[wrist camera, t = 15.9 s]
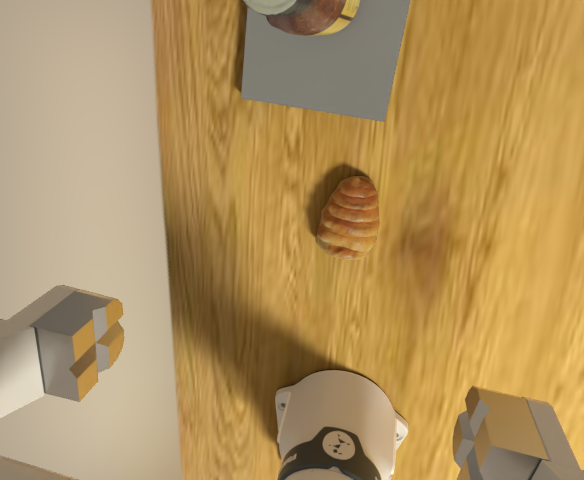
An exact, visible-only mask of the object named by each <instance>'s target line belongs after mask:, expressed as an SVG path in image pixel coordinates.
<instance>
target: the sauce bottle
mask: <svg viewBox="0 0 584 480" xmlns="http://www.w3.org/2000/svg"><path fill="white" fill-rule="evenodd" d="M243 1H244V2H245V4H246V5H247V6H248V7H249V8H250V9H252V10H253V11H255V12H257V13H259V14H262V15H265V16H266V18H267V21H268V22H269V24H270V25H271V26H273V27H275V28H277V29H280V30H282V31H284V32H286V33H289V34H294V35H301V36H312V35H328V34H333V33H336V32H338V31H340V30H342V29H343V28H345V27H346V26H347V25H348V24H349V23H350V21H352V20H353V18H354V17H355V15H356V13H357V10H358V7H359V3H360V0H243Z"/></svg>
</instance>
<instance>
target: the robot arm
mask: <svg viewBox="0 0 584 480" xmlns="http://www.w3.org/2000/svg"><path fill="white" fill-rule="evenodd" d="M122 315H123V309H122V303H121V302H120V301H119V300H118V299H115V298H111V297H107V296H103V295H100V294H96V293H92V292H89V291H85V290H79V289H76V288H73V287H69V286H65V285H60V286H56V287H54V288H53V289H51V290H50V291H48V292H47V293H46V294H44V295H43V296H41V297H40V298H39V299H37V300H36V301H34V302H33V303H31V304H30V305H28V306H27V307H26V308H24V309H23V310H21V311H20V312H18V313H17V314H16V315H14V316H13V317H11V318H10V319H8V320H3V319H0V418H1V417H3V416H5V415H7V414H9V413H11V412H13V411H15V410H17V409H19V408H21V407H23V406H24V405H26V404H28V403H30V402H32V401H34V400H36V399H38V398H40V397H42V396H44V393H46V394H50V395H54V396H58V397H62V398H66V399H70V400H74V401H78V402H80V401H81V400H82V398H84V396H85V395H86V394H87V393H88V392H89V391H90V390H91V389H92V387H93V386H94V385H95V384H96V383H97V382H98V373H99V372H101V371H104V370H106V369H109V368H110V367H111V366H112V365H113V364H114V362H115V361H116V360H117V358H118V356H119V354H120V352H121V350H122V347H123V342H124V330H123V328H122V327H121V325H120V324H119V322H118V320H119V319H120V318H121V316H122ZM465 402H466V407H467V411H465V412H463V413H461V414H459V416H458V419H457V421H456V424H455V428H454V434H453V456H454V461H455V462H456V463H457V464H458V466H459V467H460V468H461V471H460V473H459V475H458V478H457V480H584V470H581V469H580V467H579V465H578V462H577V460H576V458H575V456H574V454H573V451H572V449H571V447H570V445H569V443H568V440H567V438H566V436H565V434H564V431H563V429H562V427H561V425H560V423H559V420H558V418H557V416H556V414H555V411H554V409H553V407H552V406H551V405H550V404H549V403H548V402H544V401H539V400H535V399H530V398H525V397H518V396H514V395H509V394H505V393H501V392H497V391H493V390H488V389H484V388H480V387H476V386H472V387H471V389H470V390H469V391H468V394H467V396H466V398H465ZM283 403H284V404H283ZM275 404H276V414H277V424H278V437H277V442H278V443H279V450H280V456H281V462H282V466H281V468H280V471H279V474H278V480H391V477H392V474H393V473H394V469H395V454H396V450H397V449H398V447H399V446H400V444H401V443H402V441H403V440H404V438H405V437H406V435H407V433H408V427H409V426H408V423H407V422H406V421H405V420H404V419H403V418H402V417H401V416H400V415H399V414H398V413H396V412H395V410H394V409H393V407H392V405H391V403H390V401H389V399H388V397H387V396H386V395H385V393H384V392H383V391H382V390H381V389H380V388H379V387H378V386H377V385H376V384H374V383H373V382H371V381H370V380H368V379H366V378H364V377H362V376H360V375H357V374H354V373H351V372H347V371H340V370H326V371H320V372H316V373H313V374H311V375H309V376H307V377H305V378H304V379H302V380H301V381H300V382H298V383H297V384H295V385H293V386H289V387H285V388H281V389H279V390H278V391H277V392H276V396H275ZM0 480H78V479H75V478H72V477H68V476H65V475H62V474H58V473H56V472H52V471H49V470H45V469H42V468H39V467H36V466H33V465H30V464H26V463H23V462H20V461H17V460H13V459H10V458H7V457H4V456H0Z"/></svg>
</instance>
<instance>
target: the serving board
mask: <svg viewBox="0 0 584 480" xmlns="http://www.w3.org/2000/svg"><path fill="white" fill-rule="evenodd" d="M409 4H410V0H360V3H359V7H358V10H357V13H356V15H355V17H354V18H353V20H352V21H350V23H349V24H348V25H347V26H346V27H345V28H343V29H342V30H340V31H338V32H336V33H333V34H328V35H312V36H301V35H294V34H289V33H286V32H284V31H282V30H280V29H277V28H275V27H273V26H271V25H270V24H269V22H268V21H267V18H266V16H265V15H262V14H259V13H257V12H255V11H253V10H252V9H250V8H249V7H248V9H247V23H246V36H245V50H244V64H243V77H242V91H241V98H243V99H249V100H255V101H262V102H268V103H274V104H280V105H286V106H292V107H298V108H304V109H310V110H316V111H322V112H328V113H334V114H340V115H346V116H352V117H358V118H364V119H370V120H376V121H383V122H384V121H385V116H386V112H387V107H388V102H389V98H390V93H391V88H392V84H393V79H394V74H395V70H396V65H397V60H398V56H399V51H400V46H401V42H402V37H403V32H404V28H405V23H406V18H407V14H408V9H409Z"/></svg>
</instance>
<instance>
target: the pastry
mask: <svg viewBox="0 0 584 480" xmlns="http://www.w3.org/2000/svg"><path fill="white" fill-rule="evenodd" d="M378 203H379V202H378V195H377V191H376V189H375V187H374V184H373V182H372V181H371V180H370V179H369V178H367V177H364V176H351V177H349V178H347V179H344V180H342V181H341V182H340V183H339V185H338V186H337V188H336V190H335V191H334V192H333V193H332V194H331V196H330V198H329V200H328V202H327V204H326V206H325V207H324V208H323V209H322V211H321V220H320V225H319V227H318V229H317V236H316V243H317V244H318V245H319V246H320V248H321V249H322V250H324V251H325V252H326V253H327V254H329V255H332V256H334V257H337V258H340V259H343V260H348V259H350V260H359V259H361V258H365V257H366V256H367V255H368V253H369V251H370V249H371V248H372V247H373V246H374V244H375V242H376V240H377V233H378V228H379V212H378Z"/></svg>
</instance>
